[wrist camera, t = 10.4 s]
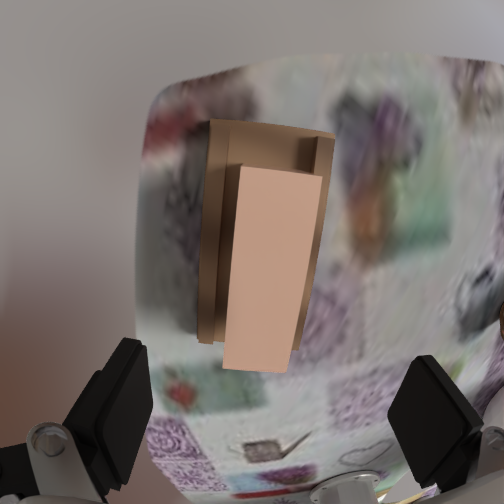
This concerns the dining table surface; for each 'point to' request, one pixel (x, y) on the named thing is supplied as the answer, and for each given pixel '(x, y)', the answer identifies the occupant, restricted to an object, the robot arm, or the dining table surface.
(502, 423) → the white vase
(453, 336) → the dining table surface
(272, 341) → the block
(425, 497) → the beverage can
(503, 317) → the tin
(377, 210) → the dining table surface
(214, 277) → the rack
